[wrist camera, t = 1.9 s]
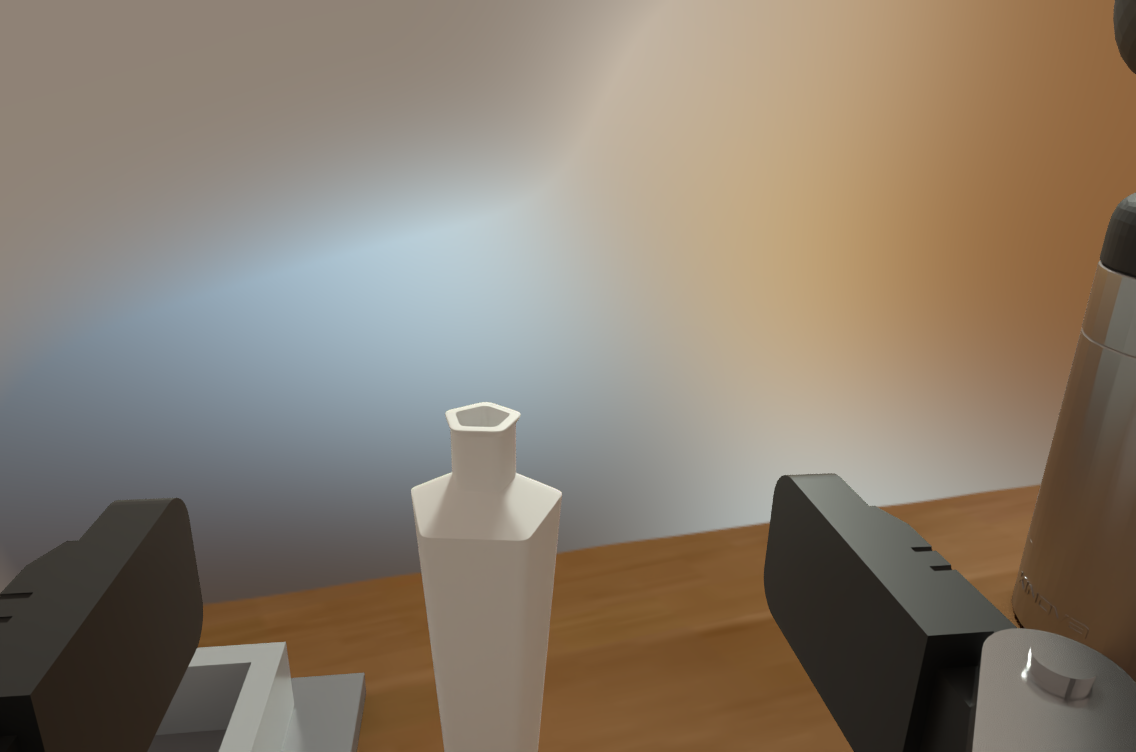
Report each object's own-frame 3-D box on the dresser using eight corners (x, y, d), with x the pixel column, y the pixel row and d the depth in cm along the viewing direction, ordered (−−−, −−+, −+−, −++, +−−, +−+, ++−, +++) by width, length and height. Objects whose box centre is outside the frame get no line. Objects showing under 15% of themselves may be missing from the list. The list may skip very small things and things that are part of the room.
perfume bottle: (558, 756, 29) (565, 388, 24) (553, 865, 25) (559, 449, 20) (438, 752, 29) (418, 384, 24) (413, 860, 25) (383, 444, 20)
